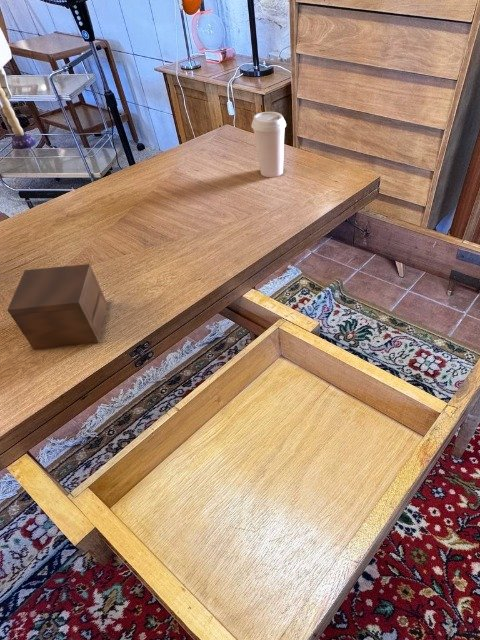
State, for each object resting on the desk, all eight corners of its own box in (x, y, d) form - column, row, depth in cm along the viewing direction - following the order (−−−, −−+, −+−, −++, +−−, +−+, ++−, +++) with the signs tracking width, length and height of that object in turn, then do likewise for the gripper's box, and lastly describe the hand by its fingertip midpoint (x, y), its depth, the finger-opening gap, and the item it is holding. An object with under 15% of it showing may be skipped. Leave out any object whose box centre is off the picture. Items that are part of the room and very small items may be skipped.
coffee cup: (264, 184, 126) (260, 125, 115) (250, 171, 132) (244, 114, 120) (293, 176, 129) (292, 118, 118) (278, 164, 134) (275, 108, 123)
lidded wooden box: (35, 352, 83) (6, 309, 75) (49, 312, 91) (24, 270, 83) (100, 344, 84) (78, 302, 76) (108, 305, 92) (89, 263, 84)
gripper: (-43, -8, 76) (0, 87, 87) (-92, 16, 63) (-34, 124, 74) (-5, -10, 77) (34, 85, 87) (-45, 14, 64) (6, 122, 74)
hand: (3, 103), depth 80 cm, fingers closed on toy lamp, 4 cm apart
